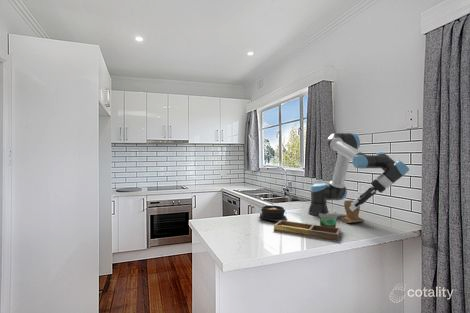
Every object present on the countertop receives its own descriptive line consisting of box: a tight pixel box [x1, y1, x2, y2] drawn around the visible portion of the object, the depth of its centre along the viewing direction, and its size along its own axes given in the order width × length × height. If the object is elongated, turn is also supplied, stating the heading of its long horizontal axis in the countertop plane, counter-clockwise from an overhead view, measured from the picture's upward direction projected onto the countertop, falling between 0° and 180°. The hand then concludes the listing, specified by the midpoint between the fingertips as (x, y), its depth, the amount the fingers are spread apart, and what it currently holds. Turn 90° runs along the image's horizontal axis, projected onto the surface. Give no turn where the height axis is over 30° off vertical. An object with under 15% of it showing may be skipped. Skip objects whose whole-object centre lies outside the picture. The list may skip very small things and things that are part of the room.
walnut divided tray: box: [273, 220, 341, 242], centre depth 148 cm, size 13×36×4 cm, turn 62°
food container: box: [318, 211, 339, 228], centre depth 154 cm, size 12×6×10 cm, turn 105°
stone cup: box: [341, 199, 365, 224], centre depth 174 cm, size 15×12×15 cm
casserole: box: [259, 204, 288, 222], centre depth 178 cm, size 25×19×8 cm
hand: (351, 207), depth 148 cm, fingers open, 13 cm apart
